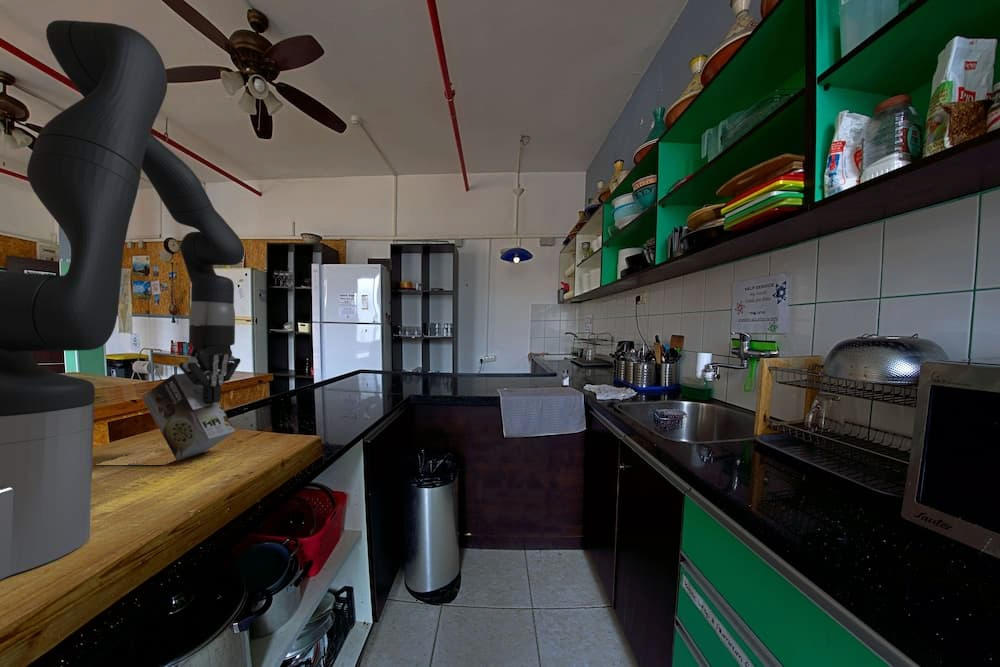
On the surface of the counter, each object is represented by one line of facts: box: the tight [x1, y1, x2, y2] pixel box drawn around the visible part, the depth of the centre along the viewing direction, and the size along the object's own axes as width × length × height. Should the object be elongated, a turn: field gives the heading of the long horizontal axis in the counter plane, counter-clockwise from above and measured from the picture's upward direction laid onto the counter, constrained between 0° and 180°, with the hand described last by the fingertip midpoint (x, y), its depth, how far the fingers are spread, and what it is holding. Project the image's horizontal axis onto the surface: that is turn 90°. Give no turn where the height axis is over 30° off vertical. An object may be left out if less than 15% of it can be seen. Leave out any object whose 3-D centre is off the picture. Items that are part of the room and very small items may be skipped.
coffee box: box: [141, 372, 236, 462], centre depth 71 cm, size 9×6×16 cm
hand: (211, 402), depth 71 cm, fingers closed
